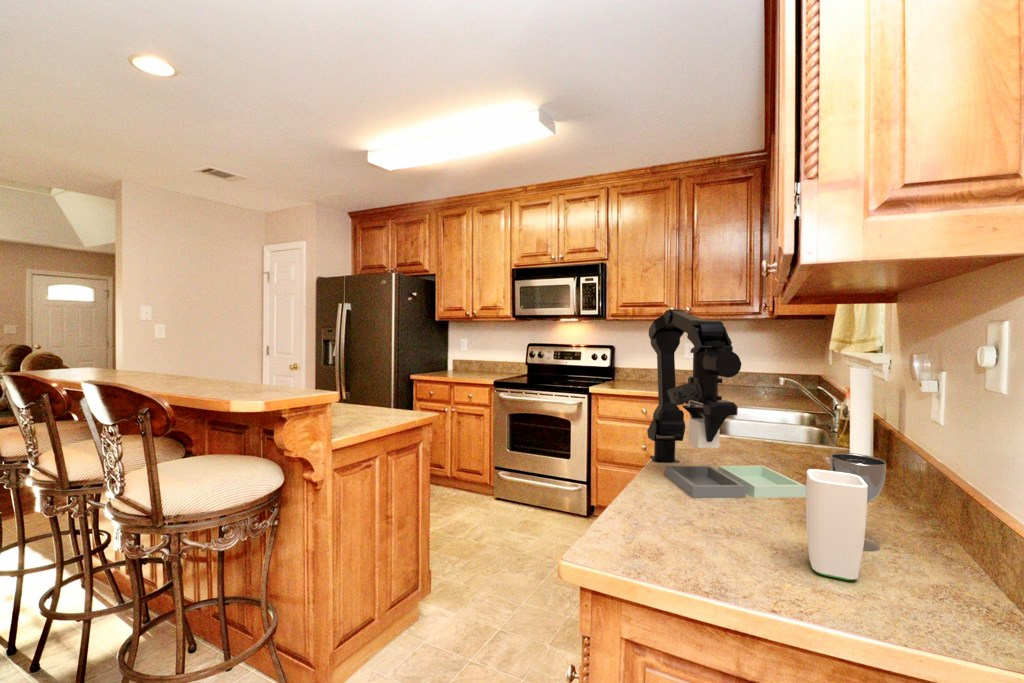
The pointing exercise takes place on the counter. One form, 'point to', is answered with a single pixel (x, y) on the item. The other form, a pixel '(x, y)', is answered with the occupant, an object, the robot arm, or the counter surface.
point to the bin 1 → (705, 482)
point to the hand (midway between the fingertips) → (703, 439)
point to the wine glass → (868, 470)
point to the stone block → (701, 434)
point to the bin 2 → (764, 482)
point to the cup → (835, 522)
